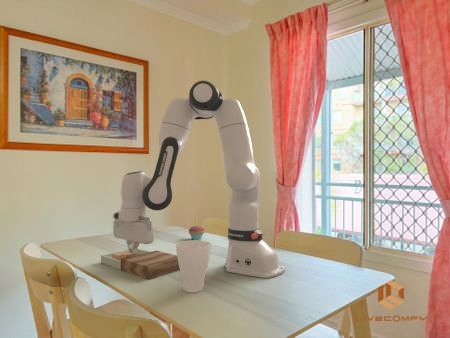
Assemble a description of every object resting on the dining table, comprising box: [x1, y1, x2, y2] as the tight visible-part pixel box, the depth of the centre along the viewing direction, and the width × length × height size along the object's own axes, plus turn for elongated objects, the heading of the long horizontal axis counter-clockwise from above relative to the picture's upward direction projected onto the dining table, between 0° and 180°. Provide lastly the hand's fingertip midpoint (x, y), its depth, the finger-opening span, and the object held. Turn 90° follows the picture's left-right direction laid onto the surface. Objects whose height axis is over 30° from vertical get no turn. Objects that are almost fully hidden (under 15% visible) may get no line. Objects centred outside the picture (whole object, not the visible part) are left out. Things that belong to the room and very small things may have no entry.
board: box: [120, 250, 180, 280], centre depth 114 cm, size 16×16×4 cm
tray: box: [100, 247, 151, 271], centre depth 123 cm, size 13×16×3 cm
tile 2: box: [121, 252, 135, 258], centre depth 118 cm, size 4×4×3 cm
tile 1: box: [112, 251, 123, 261], centre depth 122 cm, size 4×4×3 cm
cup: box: [175, 239, 212, 294], centre depth 95 cm, size 10×10×14 cm
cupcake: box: [188, 217, 206, 241], centre depth 167 cm, size 9×8×12 cm
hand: (132, 252), depth 117 cm, fingers closed
